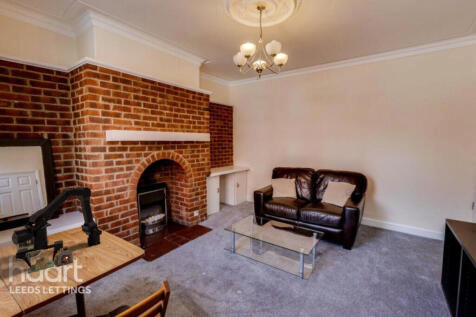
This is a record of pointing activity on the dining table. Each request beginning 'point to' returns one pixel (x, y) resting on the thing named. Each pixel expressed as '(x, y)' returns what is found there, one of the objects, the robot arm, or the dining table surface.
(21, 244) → the coffee can
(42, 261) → the tan rectangular block
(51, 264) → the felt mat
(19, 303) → the dining table surface
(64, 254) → the body
